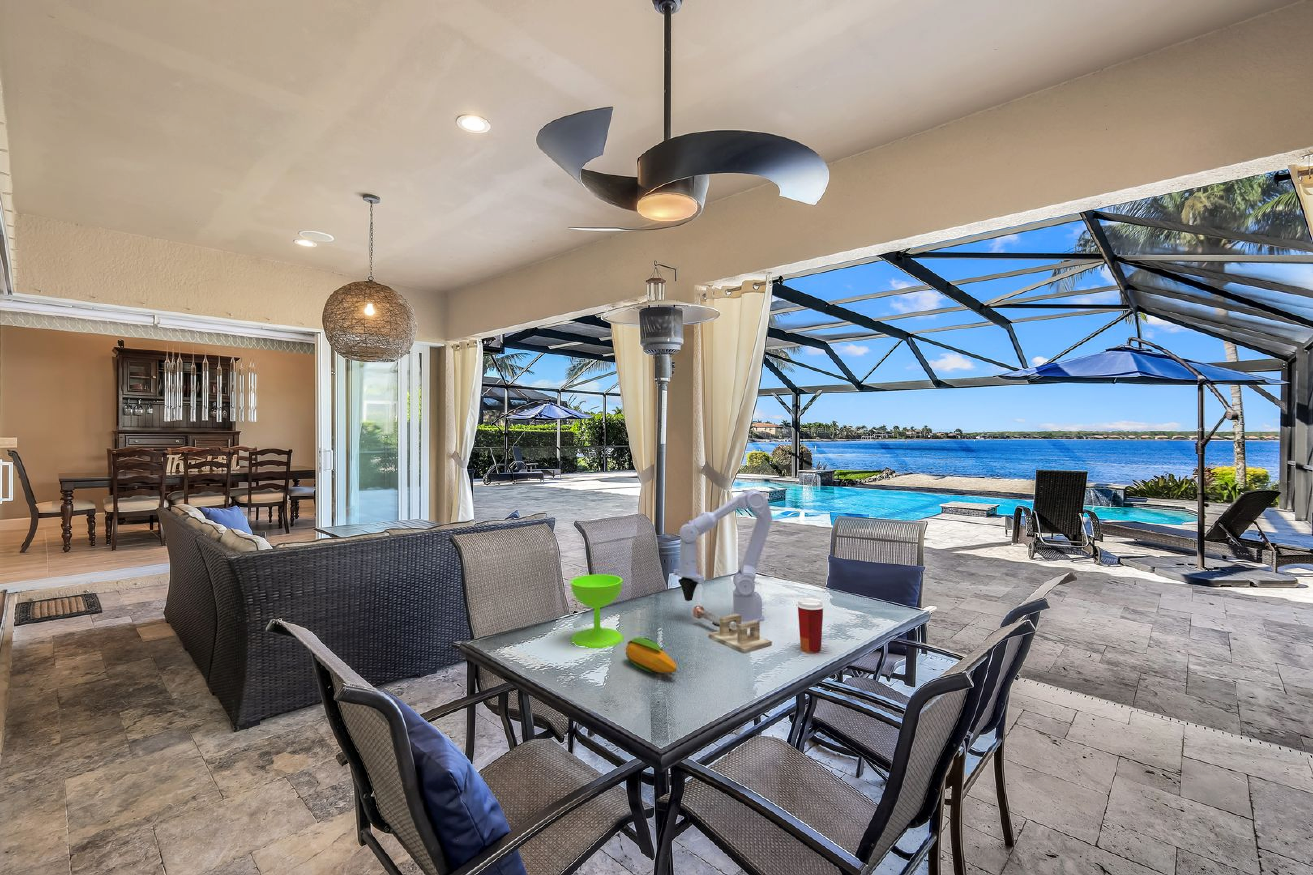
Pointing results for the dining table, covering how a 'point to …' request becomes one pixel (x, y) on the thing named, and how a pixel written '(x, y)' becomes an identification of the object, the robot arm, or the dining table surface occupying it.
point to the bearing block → (740, 635)
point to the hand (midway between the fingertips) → (688, 600)
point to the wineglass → (597, 608)
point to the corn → (649, 656)
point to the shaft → (711, 617)
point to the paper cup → (810, 624)
